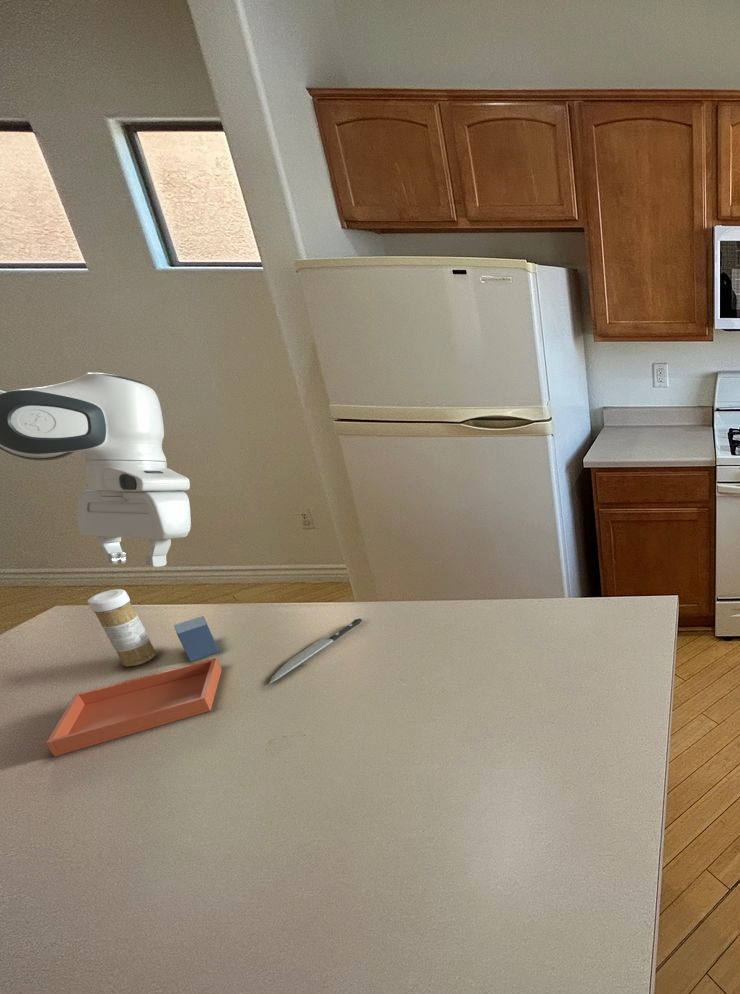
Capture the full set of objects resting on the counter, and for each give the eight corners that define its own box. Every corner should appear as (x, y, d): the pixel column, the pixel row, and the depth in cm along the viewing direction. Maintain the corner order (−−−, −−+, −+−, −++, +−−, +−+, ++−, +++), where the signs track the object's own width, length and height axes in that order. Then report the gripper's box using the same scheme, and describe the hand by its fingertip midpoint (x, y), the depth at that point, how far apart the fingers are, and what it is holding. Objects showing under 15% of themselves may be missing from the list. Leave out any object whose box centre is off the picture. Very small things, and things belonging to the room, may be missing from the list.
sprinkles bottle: (135, 652, 100) (102, 589, 94) (164, 650, 100) (132, 587, 95) (115, 669, 96) (78, 603, 90) (145, 666, 96) (110, 601, 91)
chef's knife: (256, 683, 93) (269, 685, 92) (253, 677, 93) (266, 680, 92) (352, 620, 110) (364, 621, 109) (350, 615, 109) (362, 617, 108)
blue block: (190, 661, 98) (176, 634, 95) (187, 652, 100) (173, 624, 98) (219, 651, 100) (207, 624, 98) (215, 642, 103) (203, 615, 100)
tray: (54, 756, 79) (45, 743, 77) (82, 706, 87) (74, 694, 86) (210, 710, 87) (204, 698, 86) (222, 669, 96) (216, 657, 95)
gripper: (58, 479, 88) (67, 565, 89) (147, 479, 82) (155, 571, 83) (111, 479, 94) (118, 559, 95) (197, 479, 88) (204, 564, 89)
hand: (136, 565), depth 89 cm, fingers open, 8 cm apart
